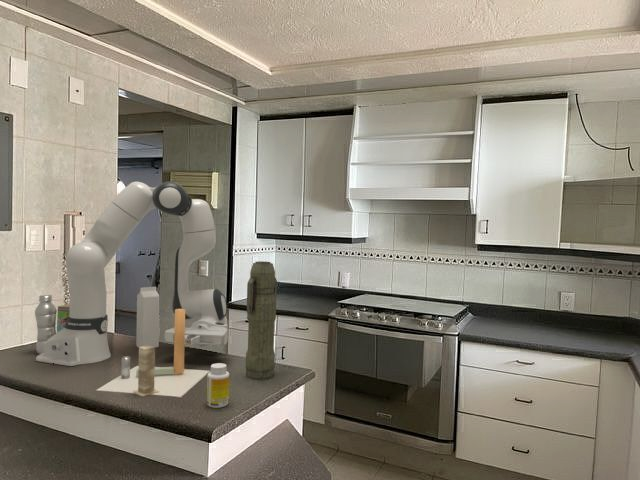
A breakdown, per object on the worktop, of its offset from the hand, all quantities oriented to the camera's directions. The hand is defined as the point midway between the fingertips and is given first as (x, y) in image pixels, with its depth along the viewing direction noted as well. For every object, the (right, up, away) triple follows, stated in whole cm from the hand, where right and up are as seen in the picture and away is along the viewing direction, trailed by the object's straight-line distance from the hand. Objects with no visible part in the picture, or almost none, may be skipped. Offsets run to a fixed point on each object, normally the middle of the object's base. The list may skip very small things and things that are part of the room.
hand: (187, 342), depth 149 cm
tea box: (-48, -7, +29) cm, 57 cm away
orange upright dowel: (-6, -8, -6) cm, 12 cm away
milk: (-22, -7, +26) cm, 35 cm away
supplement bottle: (+15, -11, -26) cm, 32 cm away
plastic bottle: (-52, -7, +14) cm, 54 cm away
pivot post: (-16, -9, -9) cm, 20 cm away
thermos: (+23, -10, -2) cm, 25 cm away
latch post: (-6, -10, -20) cm, 23 cm away
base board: (-6, -9, -10) cm, 15 cm away
